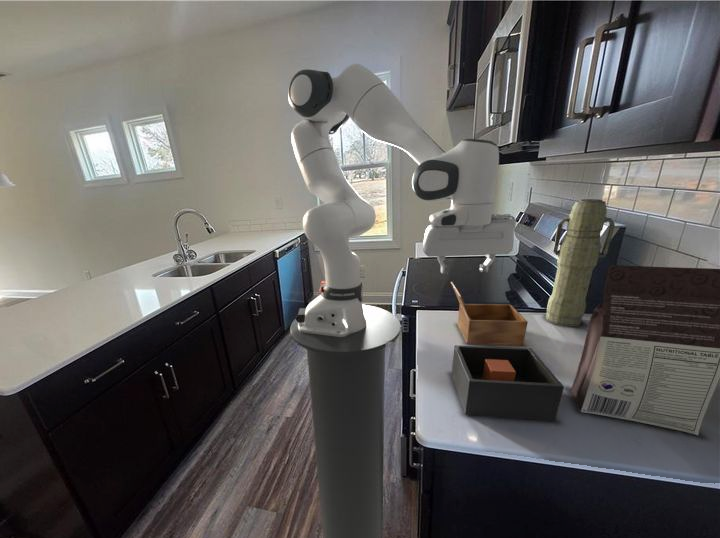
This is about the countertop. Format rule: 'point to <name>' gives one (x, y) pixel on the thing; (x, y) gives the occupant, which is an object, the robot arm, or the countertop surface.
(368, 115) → the robot arm
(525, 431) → the countertop surface
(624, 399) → the protein powder
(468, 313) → the flap
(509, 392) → the basket
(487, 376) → the block
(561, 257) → the thermos
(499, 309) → the wooden box
